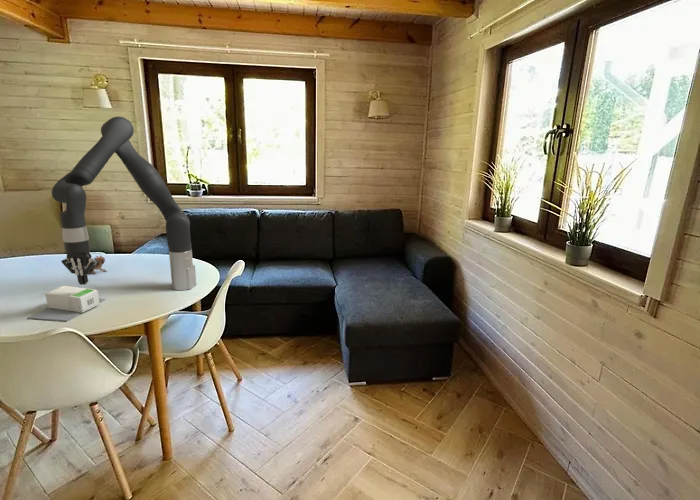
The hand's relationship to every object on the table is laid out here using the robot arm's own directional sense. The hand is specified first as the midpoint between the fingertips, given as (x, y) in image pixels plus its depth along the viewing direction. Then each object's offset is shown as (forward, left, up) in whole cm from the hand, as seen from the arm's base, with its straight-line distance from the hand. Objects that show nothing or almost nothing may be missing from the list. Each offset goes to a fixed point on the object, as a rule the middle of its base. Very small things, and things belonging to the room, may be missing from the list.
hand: (83, 284), depth 143 cm
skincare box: (-2, 0, -7) cm, 7 cm away
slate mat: (+8, 0, -11) cm, 13 cm away
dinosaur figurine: (+27, -40, -11) cm, 50 cm away
